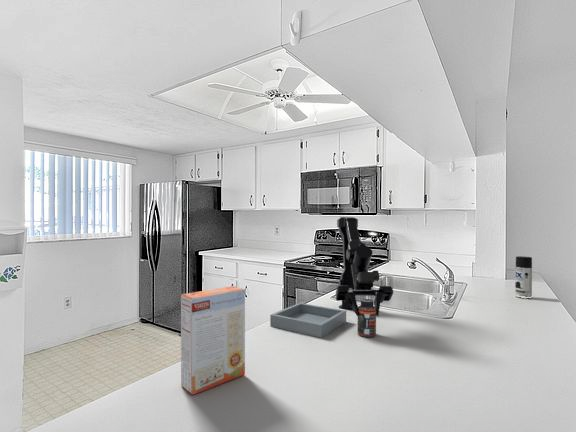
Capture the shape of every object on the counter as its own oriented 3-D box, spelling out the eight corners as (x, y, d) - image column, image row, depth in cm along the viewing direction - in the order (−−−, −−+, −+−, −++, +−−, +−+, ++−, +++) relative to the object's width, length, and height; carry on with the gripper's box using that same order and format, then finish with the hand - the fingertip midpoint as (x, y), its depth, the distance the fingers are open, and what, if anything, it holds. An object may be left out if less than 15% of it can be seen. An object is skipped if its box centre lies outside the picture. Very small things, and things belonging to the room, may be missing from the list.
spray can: (511, 296, 167) (512, 256, 167) (524, 295, 167) (524, 256, 167) (522, 299, 160) (522, 257, 160) (535, 299, 161) (535, 257, 161)
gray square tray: (299, 312, 133) (299, 302, 133) (346, 321, 123) (346, 310, 123) (270, 326, 117) (270, 314, 117) (321, 337, 106) (321, 325, 106)
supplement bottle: (371, 339, 105) (371, 303, 105) (354, 335, 108) (354, 300, 108) (378, 334, 110) (379, 299, 110) (362, 330, 113) (362, 297, 113)
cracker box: (231, 367, 84) (232, 284, 84) (245, 375, 80) (246, 288, 80) (179, 385, 75) (180, 292, 75) (191, 396, 70) (192, 297, 70)
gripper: (337, 261, 113) (342, 302, 102) (391, 262, 113) (403, 303, 102) (333, 280, 121) (338, 320, 110) (384, 280, 121) (394, 320, 110)
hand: (367, 315), depth 108 cm, fingers closed on supplement bottle, 6 cm apart
